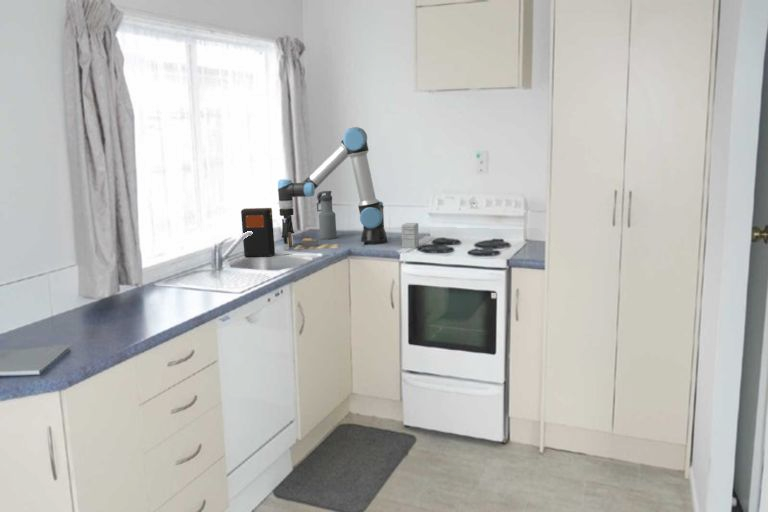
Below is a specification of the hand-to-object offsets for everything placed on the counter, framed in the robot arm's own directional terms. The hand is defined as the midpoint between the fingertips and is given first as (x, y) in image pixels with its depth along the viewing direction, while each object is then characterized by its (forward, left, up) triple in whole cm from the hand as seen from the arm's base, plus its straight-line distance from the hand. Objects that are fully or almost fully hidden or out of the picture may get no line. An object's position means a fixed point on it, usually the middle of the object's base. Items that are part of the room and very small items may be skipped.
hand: (288, 247), depth 378 cm
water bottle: (-17, -32, -1) cm, 36 cm away
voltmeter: (+12, +18, -1) cm, 22 cm away
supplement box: (-67, +4, -1) cm, 67 cm away
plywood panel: (-16, +2, -1) cm, 16 cm away
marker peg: (0, 0, -1) cm, 1 cm away
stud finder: (-12, -1, 0) cm, 12 cm away
